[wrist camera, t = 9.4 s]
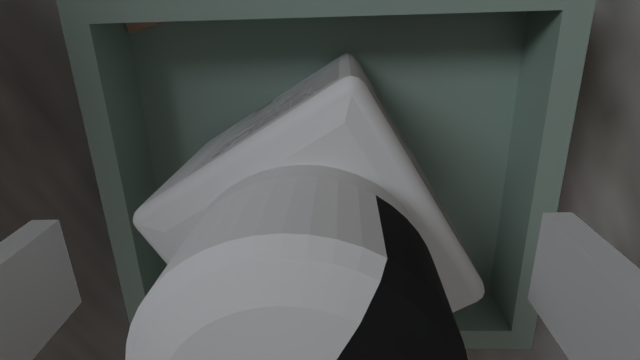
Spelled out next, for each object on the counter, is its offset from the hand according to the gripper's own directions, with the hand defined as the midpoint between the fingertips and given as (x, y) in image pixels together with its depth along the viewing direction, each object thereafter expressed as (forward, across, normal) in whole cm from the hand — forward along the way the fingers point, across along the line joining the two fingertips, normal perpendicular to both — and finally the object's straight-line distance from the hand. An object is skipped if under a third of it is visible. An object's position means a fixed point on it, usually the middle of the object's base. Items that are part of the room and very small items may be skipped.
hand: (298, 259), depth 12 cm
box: (+9, +1, 0) cm, 9 cm away
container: (+8, 0, 0) cm, 8 cm away
